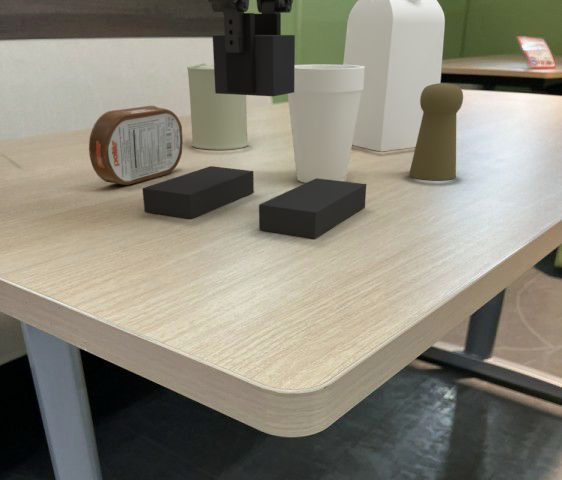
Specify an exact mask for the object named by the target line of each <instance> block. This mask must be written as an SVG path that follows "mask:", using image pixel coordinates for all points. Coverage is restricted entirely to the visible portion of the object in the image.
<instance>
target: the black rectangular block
mask: <svg viewBox="0 0 562 480" xmlns="http://www.w3.org/2000/svg"><path fill="white" fill-rule="evenodd" d="M295 41H296V35H295V34H281V35H255V88H256V92H255V93H241V92H227V69H226V48H225V34H214V35H212V53H213V65H214V76H215V93H217V94H236V95H246V96H255V97H278V96H282V95H283V96H284V95H288V94H289V93H294V74H295V65H296V64H295V63H296V61H295V59H296V58H295V57H296V56H295V55H296V42H295Z"/></svg>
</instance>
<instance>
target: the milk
mask: <svg viewBox="0 0 562 480" xmlns="http://www.w3.org/2000/svg"><path fill="white" fill-rule="evenodd" d="M445 27H446V18H445V12H444V11H443V8H442V6H441V5H440V3H439V1H438V0H357V1H356V2H355V4H354V5H353V7H352V8H351V10H350V12H349V14H348V17H347V23H346V33H345V42H344V54H343V63H342V65H357V66H364V67H365V71H364V87H363V90H362V91H361V96H360V102H359V108H358V113H357V119H356V125H355V130H354V136H353V142H352V146H355V147H359V148H363V149H367V150H371V151H376V152H388V151H397V150H406V149H412V148H414V149H415V147H416V143H417V138H418V134H419V130H420V125H421V121H422V117H423V110H422V108H421V105H420V97H421V94H422V91H423V90H424V88H425V87H427V86H428V85H432V84H438V83H441V80H442V68H443V67H442V66H443V54H444V39H445Z"/></svg>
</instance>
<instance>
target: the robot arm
mask: <svg viewBox="0 0 562 480" xmlns="http://www.w3.org/2000/svg"><path fill="white" fill-rule="evenodd" d="M207 1H208V3H209V4H210V5H211V10H212V11H213V12H214V13H222V14H223V29H224V31H223V32H224V35H225V48H226V69H227V92H241V93H255V92H256V88H255V35H282V14H285V13H286V14H288V13H289V14H290V13H291V11H292V7H293V2H294V0H256V7H257V12H258V13H255V12H248V10H249V6H250V0H207Z"/></svg>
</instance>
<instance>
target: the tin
mask: <svg viewBox="0 0 562 480" xmlns="http://www.w3.org/2000/svg"><path fill="white" fill-rule="evenodd" d="M183 143H184V142H183V126H182V123H181V121H180V119H179V117H178V116H177V114H176V113H174V111H172V110H170V109H167V108H163V107H158V106H156V105H144V106H138V107H129V108H122V109H114V110H108V111H106V112H104V113H103V114H101V115H100V116H99V117H98V119H97V120H96V121H95V123H94V124H93V127H92V129H91V131H90V134H89V140H88V152H89V153H88V155H89V160H90V163H91V166H92V168H93V170H94V172H95V174H96V175H97V176H98V177H99V178H100V179H101V180H102V181H104V182H107V183H110V184H117V185H124V186H127V185H128V186H129V185H133V184H137V183H140V182H143V181H147V180H151V179H154V178H159V177H162V176H166V175H169V174H171V172H173V171H174V170H175V169H176V168H177V166H178V164H179V162H180V161H181V158H182V154H183Z"/></svg>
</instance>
